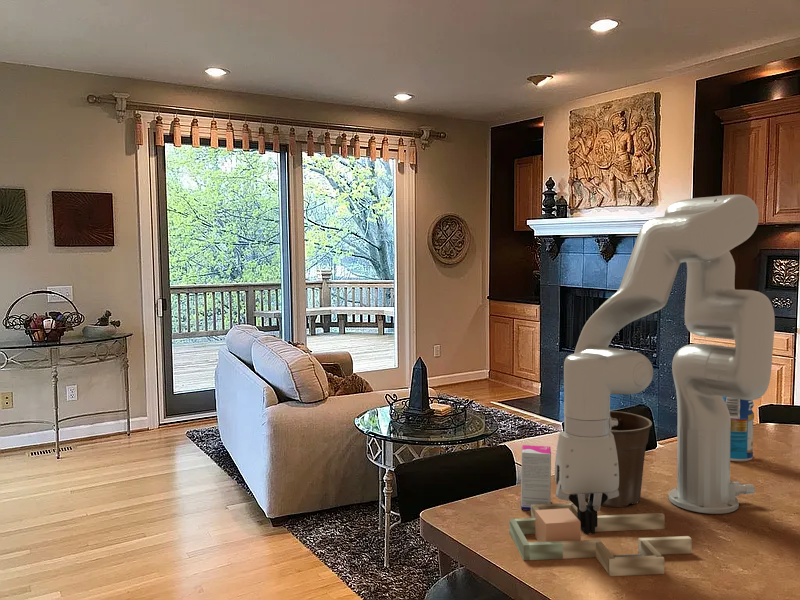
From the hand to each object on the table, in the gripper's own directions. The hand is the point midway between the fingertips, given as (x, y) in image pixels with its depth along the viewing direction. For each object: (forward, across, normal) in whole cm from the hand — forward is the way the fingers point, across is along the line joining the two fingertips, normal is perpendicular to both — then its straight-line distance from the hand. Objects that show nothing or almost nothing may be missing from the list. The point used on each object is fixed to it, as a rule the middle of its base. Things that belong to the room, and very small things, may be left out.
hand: (587, 530), depth 114 cm
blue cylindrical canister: (+2, -51, -44) cm, 67 cm away
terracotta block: (+2, +5, 0) cm, 6 cm away
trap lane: (+2, -2, 0) cm, 3 cm away
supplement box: (+2, +4, -18) cm, 19 cm away
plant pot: (+2, -12, -21) cm, 24 cm away
